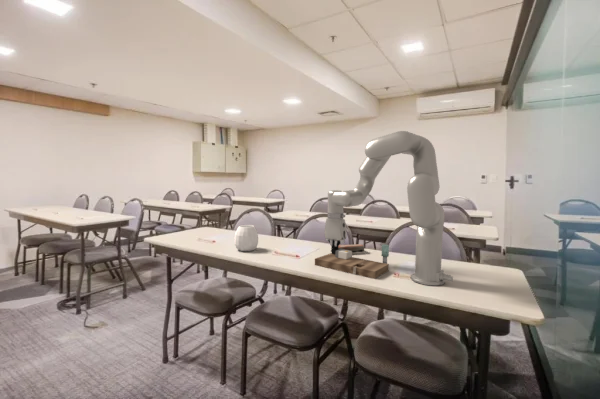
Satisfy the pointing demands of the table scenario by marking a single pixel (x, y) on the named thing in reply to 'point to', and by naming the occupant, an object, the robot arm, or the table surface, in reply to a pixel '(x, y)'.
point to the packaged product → (354, 249)
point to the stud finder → (343, 254)
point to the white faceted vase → (246, 238)
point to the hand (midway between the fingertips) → (334, 253)
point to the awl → (385, 252)
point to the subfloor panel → (353, 265)
